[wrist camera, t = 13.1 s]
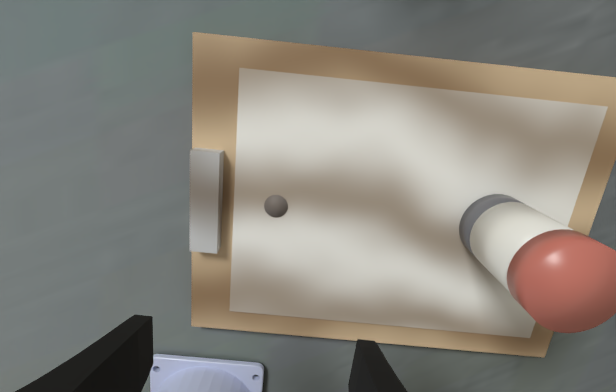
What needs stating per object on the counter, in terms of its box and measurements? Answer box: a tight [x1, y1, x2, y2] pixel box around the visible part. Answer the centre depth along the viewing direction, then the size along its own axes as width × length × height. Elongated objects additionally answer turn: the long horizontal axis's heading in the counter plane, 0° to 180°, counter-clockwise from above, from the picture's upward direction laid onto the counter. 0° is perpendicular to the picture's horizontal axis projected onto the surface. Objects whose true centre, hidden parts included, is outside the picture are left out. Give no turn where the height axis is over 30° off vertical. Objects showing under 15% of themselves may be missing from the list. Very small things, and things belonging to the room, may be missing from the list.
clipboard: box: [190, 32, 616, 357], centre depth 21 cm, size 18×24×2 cm
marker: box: [459, 194, 616, 333], centre depth 17 cm, size 4×4×7 cm
